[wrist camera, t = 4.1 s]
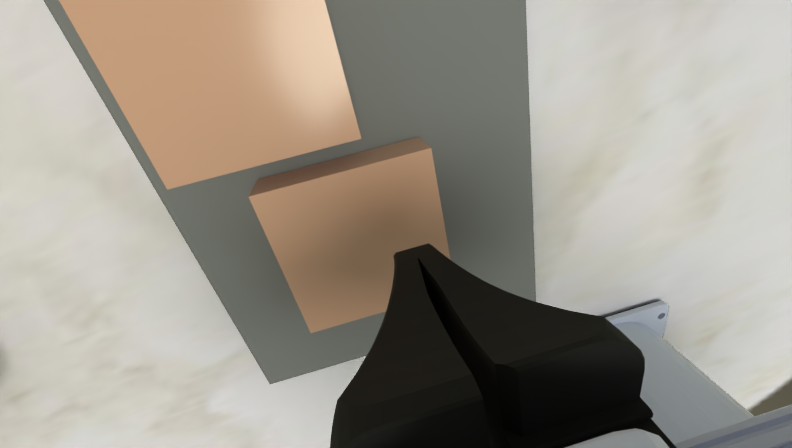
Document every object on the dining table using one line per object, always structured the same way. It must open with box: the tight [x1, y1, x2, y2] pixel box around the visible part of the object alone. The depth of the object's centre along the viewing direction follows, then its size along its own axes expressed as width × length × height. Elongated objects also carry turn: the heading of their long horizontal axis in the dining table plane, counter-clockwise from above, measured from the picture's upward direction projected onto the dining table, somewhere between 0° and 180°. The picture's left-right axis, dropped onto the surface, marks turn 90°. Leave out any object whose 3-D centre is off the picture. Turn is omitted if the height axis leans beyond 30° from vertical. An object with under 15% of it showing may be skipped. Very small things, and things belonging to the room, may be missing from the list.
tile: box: [249, 137, 450, 333], centre depth 15 cm, size 7×2×7 cm
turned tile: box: [59, 0, 361, 190], centre depth 12 cm, size 7×7×2 cm
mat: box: [44, 0, 536, 384], centre depth 16 cm, size 20×16×1 cm
